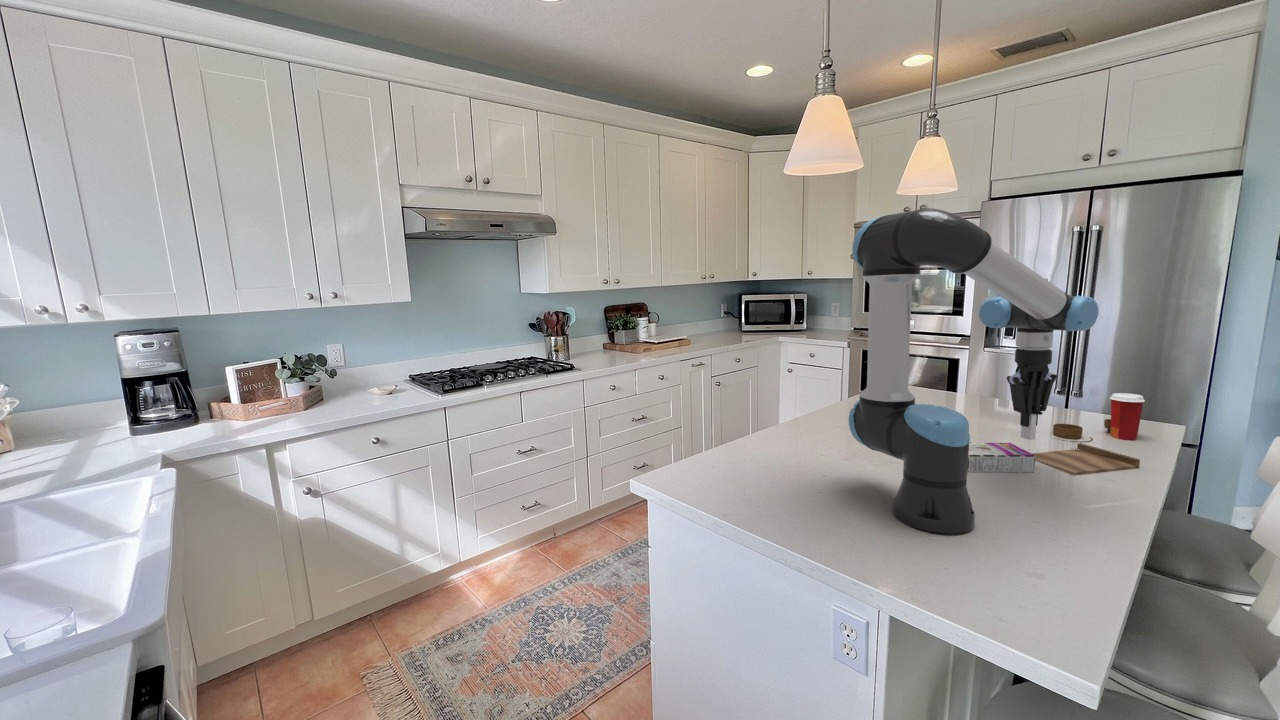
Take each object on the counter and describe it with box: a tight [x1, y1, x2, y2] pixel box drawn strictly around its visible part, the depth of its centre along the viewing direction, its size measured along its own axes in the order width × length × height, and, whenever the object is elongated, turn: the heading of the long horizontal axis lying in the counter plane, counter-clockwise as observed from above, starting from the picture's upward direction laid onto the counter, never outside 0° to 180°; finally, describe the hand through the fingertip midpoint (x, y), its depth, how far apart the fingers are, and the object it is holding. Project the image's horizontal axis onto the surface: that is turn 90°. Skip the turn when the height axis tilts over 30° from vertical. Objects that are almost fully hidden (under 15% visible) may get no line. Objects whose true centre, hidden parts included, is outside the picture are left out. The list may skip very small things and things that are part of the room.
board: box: [1031, 442, 1141, 476], centre depth 139 cm, size 20×15×2 cm
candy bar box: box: [967, 442, 1036, 474], centre depth 138 cm, size 11×5×16 cm
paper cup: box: [1109, 392, 1146, 442], centre depth 156 cm, size 8×8×14 cm
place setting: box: [1052, 418, 1111, 443], centre depth 157 cm, size 18×20×6 cm
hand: (1027, 438), depth 135 cm, fingers closed
